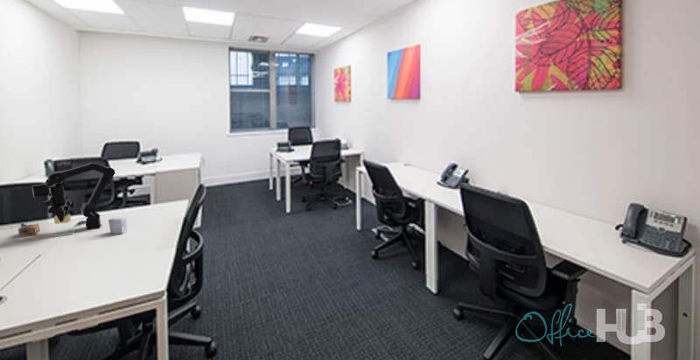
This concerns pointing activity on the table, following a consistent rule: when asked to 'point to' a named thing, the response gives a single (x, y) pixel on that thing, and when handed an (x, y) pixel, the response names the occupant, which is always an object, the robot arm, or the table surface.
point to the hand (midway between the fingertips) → (62, 220)
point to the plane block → (30, 230)
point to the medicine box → (118, 225)
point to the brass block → (65, 220)
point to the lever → (24, 227)
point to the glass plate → (64, 233)
